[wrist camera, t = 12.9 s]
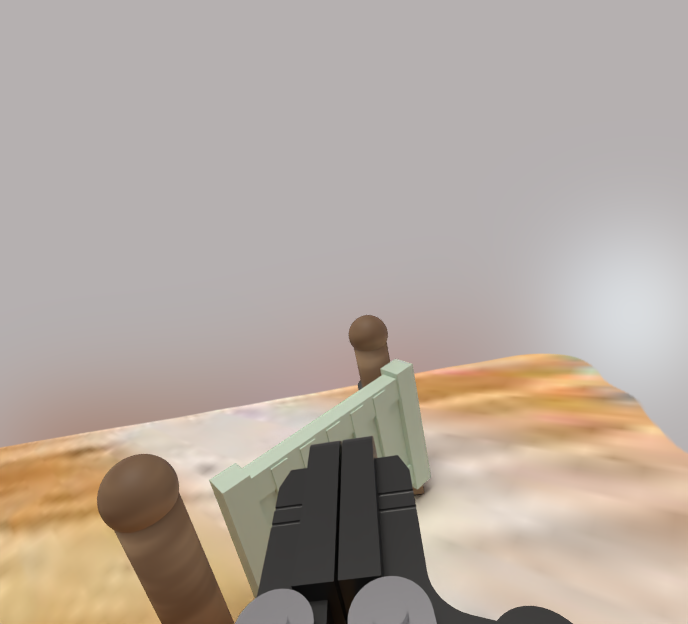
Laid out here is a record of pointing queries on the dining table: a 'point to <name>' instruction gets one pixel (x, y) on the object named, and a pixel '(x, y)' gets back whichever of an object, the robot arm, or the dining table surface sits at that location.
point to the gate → (274, 466)
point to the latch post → (371, 352)
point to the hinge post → (161, 541)
